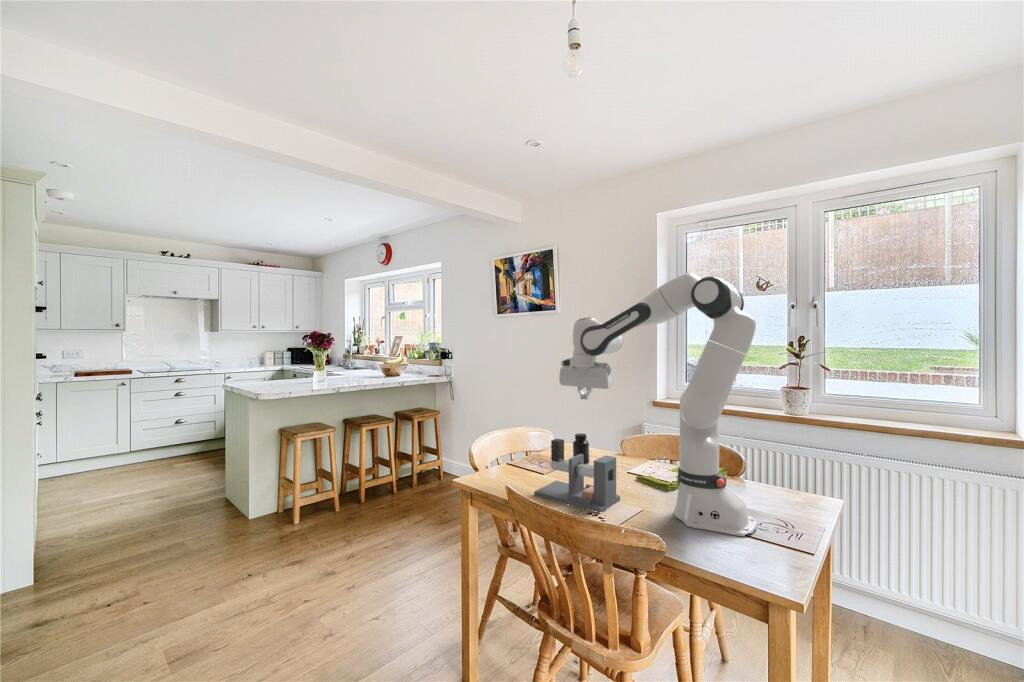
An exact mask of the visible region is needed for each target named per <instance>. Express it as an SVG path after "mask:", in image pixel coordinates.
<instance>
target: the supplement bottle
mask: <svg viewBox="0 0 1024 682" xmlns="http://www.w3.org/2000/svg"><path fill="white" fill-rule="evenodd" d="M574 439H575V440H573V442H572V457H574V456H577V455H579V454H584V464H586V465H589V463H590V442H589V441H588V440H587V434H586V433H575V434H574Z"/></svg>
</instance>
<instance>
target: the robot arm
mask: <svg viewBox="0 0 1024 682" xmlns="http://www.w3.org/2000/svg"><path fill="white" fill-rule="evenodd" d="M744 306H745V303H744V298H743V295H742V294H741V292H740V291H738V290H737V289H736V288H735V287H734V286H733V285H732V284H731V283H729V282H727V281H725V280H724V279H723V278H720V277H716V276H705V277H703V278H700V277H699V276H698V275H696V274H694V273H692V272H686V273H684V274H681V275H679V276H676V277H674V278H672V279H670V280H669V281H667V282H665V283H663V284H662V285H660V286H659V287H657V288H656V289H655V290H653V291H651V292H650V293H649V294H648V295H646V296H645V297H643V298H642V299H640V300H639V301H638V302H636V303H635V304H634V305H632V306H630V307H628V308H627V309H626V310H624V311H622V312H620V313H619V314H617V315H616V316H614V317H612V318H611V319H609V320H608V321H605V322H604V323H601V322H600V321H599V320H597V319H596V318H594V317H583V318H579V319H578V320H576V321H575V322H574V325H573V328H572V329H573V330H572V345H573V351H572V357H569V358H565V359H563V360H561V361H560V366H561V367H560V370H559V376H558V377H559V380H558V382H559V384H560V385H561V386H564V387H565V386H567V387H576V388H577V391H578V393H579V398H580V400H586V401H587V400H589V401H590V398H591V397H590V395H591V394H592V392H593V389H600V390H601V389H602V390H606V389H607V390H608V389H611V387H612V386H613V385H612V383H613V381H612V367H611V366H610V364H608V363H607V362H598V356H600V355H606V354H608V355H609V354H614V353H616V352H618V351H619V350H620V349H621V348H622V347H623V343H624V338H623V335H625V334H626V333H628V332H630V331H631V330H634V329H635V328H639V327H644V326H648V325H659V324H662V323H665V322H667V321H670V320H672V319H674V318H676V317H678V316H680V315H681V314H683V313H684V312H686V311H688V310H690V309H692V308H696V309H697V310H698V311H699V312H701V313H703V314H704V315H705V316H706V317H708V318H709V319H712V321H713V327H712V331H711V333H710V334H709V337H708V340H707V341H706V344H705V346H704V348H703V350H702V353H701V354H700V357H699V360H698V361H697V364H696V366H695V369H694V371H693V373H692V376H691V378H690V380H689V382H688V385H687V388H686V389H685V390H684V391H683V392H682V394H681V396H680V399H679V466H678V467H679V468H678V475H677V480H678V486H679V489H678V490H677V498H676V503H675V507H674V510H673V515H674V516H675V518H677V519H679V520H680V521H682V522H683V523H684V525H685V526H686V527H689V528H693V529H694V528H695V529H700V530H705V531H711V532H716V533H722V534H728V535H733V536H738V537H746V536H745V535H747V534H749V533H750V532H752V531H754V530H755V528H756V526H757V527H758V524H757V520H756V518H754V517H753V516H750V515H749V512H748V507H747V504H746V502H745V500H744V499H743V498H742V497H740V496H739V495H738V494H736V493H735V492H734V491H733V490H732V489H731V488H729V486H728V485H727V477H728V473H727V474H726V475H723V474H722V473H721V472H720V471H719V468H720V440H719V436H720V435H719V419H720V417H721V415H722V413H723V410H724V408H725V406H726V403H727V402H728V398H729V396H730V394H731V390H732V388H733V385H734V382H735V381H736V380H735V379H736V378H737V375H738V373H739V371H740V369H741V367H742V365H743V363H744V361H745V358H746V356H747V354H748V352H749V350H750V348H751V344H752V341H753V339H754V335H755V333H756V332H755V331H756V326H757V324H756V323H757V322H756V320H755V319H754V318H753V316H751V315H750V314H748V313H747V312H745V311H743V310H744ZM585 388H586V389H585ZM584 389H585V390H586V393H584V391H583V390H584ZM756 529H757V528H756ZM755 531H756V530H755Z"/></svg>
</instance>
